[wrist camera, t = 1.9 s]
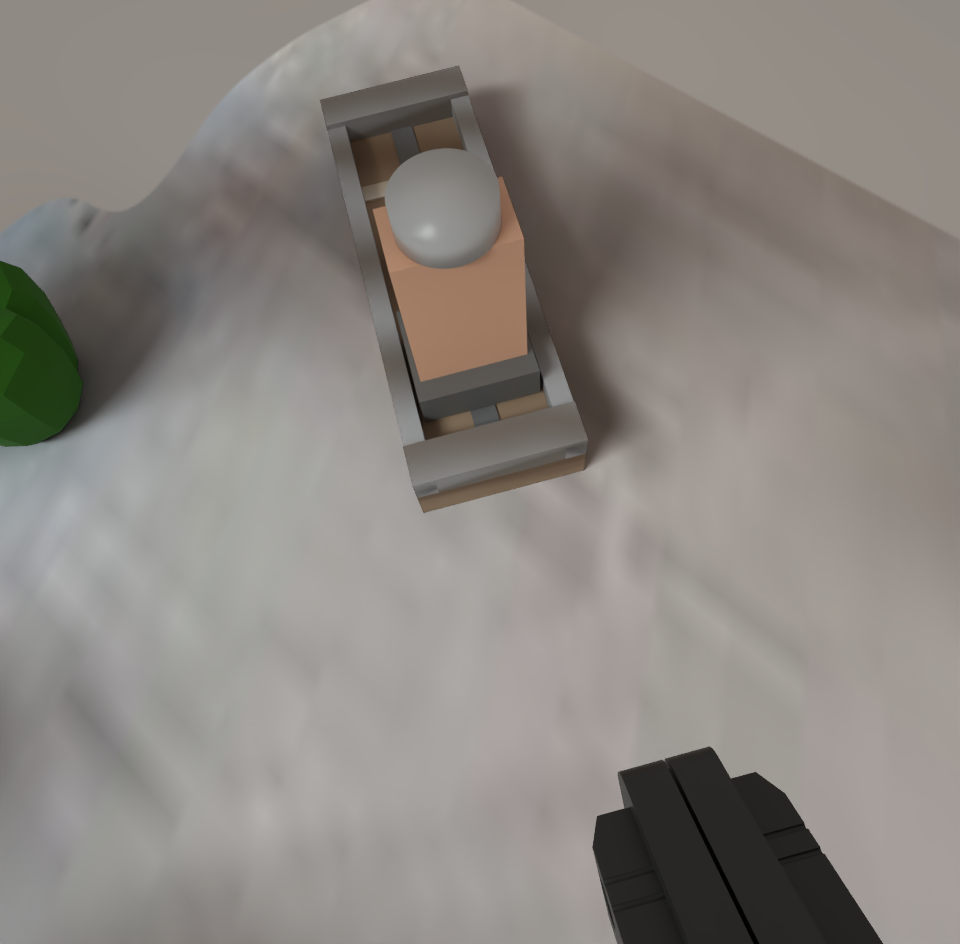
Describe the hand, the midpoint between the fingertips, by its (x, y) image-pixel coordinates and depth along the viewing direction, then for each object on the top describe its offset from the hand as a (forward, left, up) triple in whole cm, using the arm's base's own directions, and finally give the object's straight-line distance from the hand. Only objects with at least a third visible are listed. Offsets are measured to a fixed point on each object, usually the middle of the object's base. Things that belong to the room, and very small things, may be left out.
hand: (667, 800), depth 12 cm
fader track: (-18, +18, -22) cm, 34 cm away
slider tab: (-14, +14, -19) cm, 28 cm away
